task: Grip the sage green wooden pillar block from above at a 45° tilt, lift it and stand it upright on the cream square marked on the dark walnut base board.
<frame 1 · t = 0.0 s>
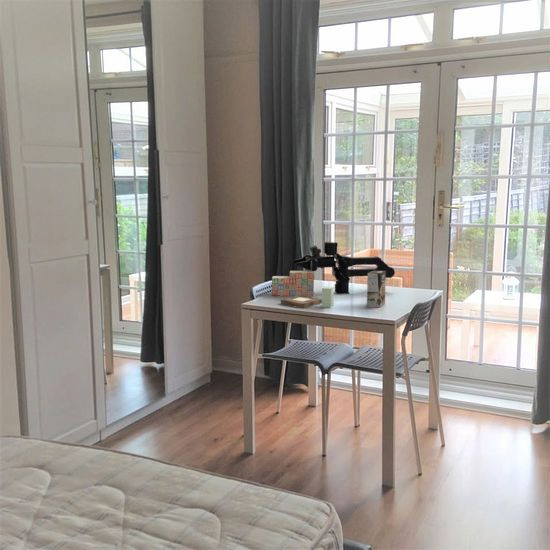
hand: (294, 262, 313), 17 cm above the table, tool horizontal, fingers open, 9 cm apart
pillar block: (327, 306, 288), on the table
coffee box: (376, 305, 289), on the table
stack of blocks: (292, 295, 315), on the table
base board: (301, 303, 294), on the table
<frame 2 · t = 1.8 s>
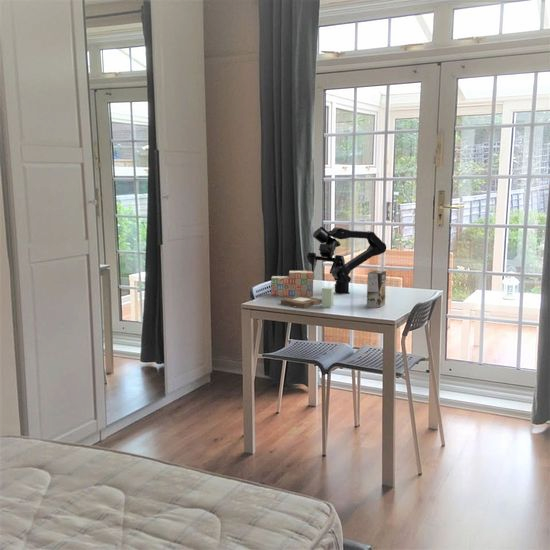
hand: (321, 272, 303), 13 cm above the table, tool tilted 45°, fingers open, 9 cm apart
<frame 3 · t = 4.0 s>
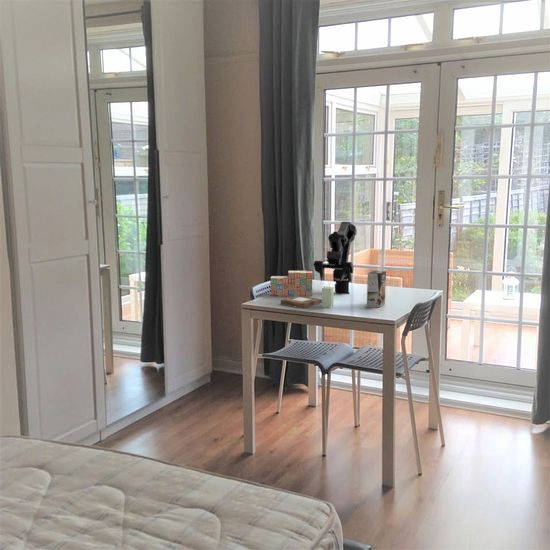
hand: (330, 280, 291), 11 cm above the table, tool tilted 45°, fingers open, 9 cm apart
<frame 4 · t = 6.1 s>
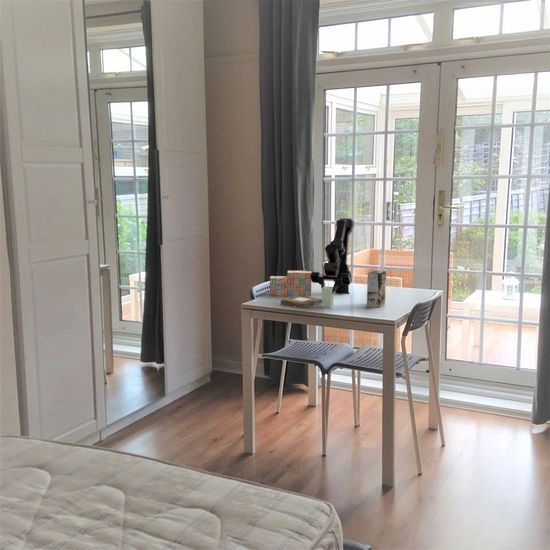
hand: (327, 292, 286), 7 cm above the table, tool tilted 45°, fingers closed on pillar block, 4 cm apart
pillar block: (327, 306, 288), on the table, touching gripper
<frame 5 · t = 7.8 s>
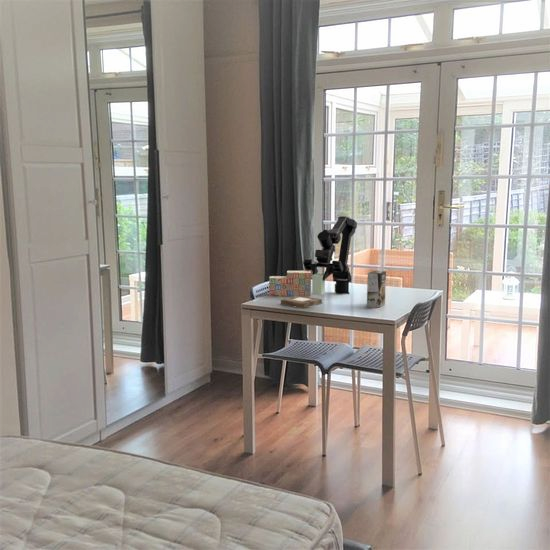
hand: (318, 279, 287), 12 cm above the table, tool tilted 45°, fingers closed on pillar block, 4 cm apart
pillar block: (318, 293, 288), point 6 cm above the table, touching gripper
when the fingers open (10 cm above the table, at t = 9.6 s): pillar block drops 1 cm, resting on base board.
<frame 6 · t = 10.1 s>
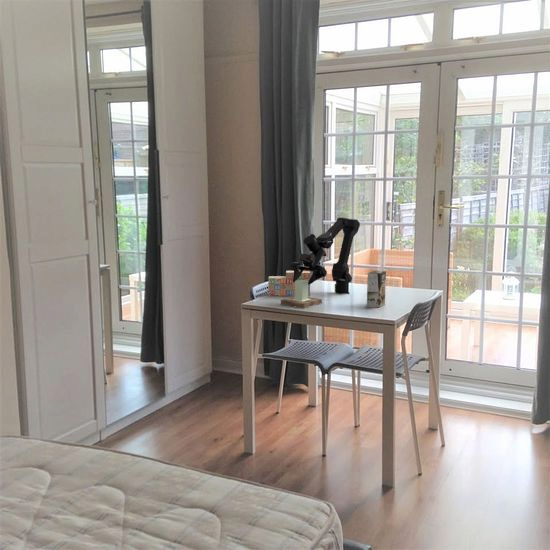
hand: (300, 283, 292), 10 cm above the table, tool tilted 45°, fingers open, 9 cm apart
pillar block: (301, 299, 294), point 2 cm above the table, touching base board
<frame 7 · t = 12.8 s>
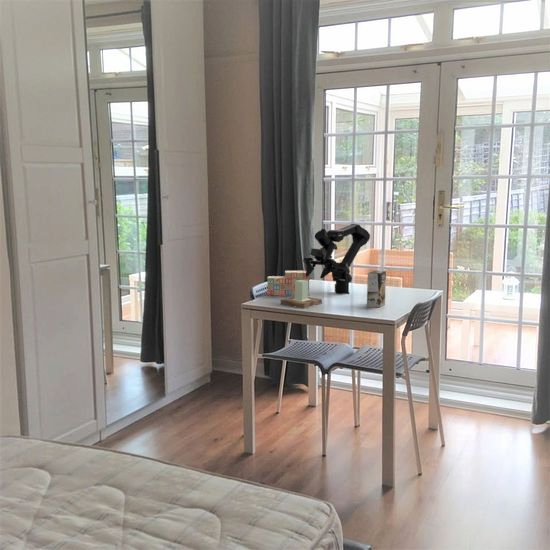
hand: (313, 277, 299), 11 cm above the table, tool tilted 40°, fingers open, 9 cm apart
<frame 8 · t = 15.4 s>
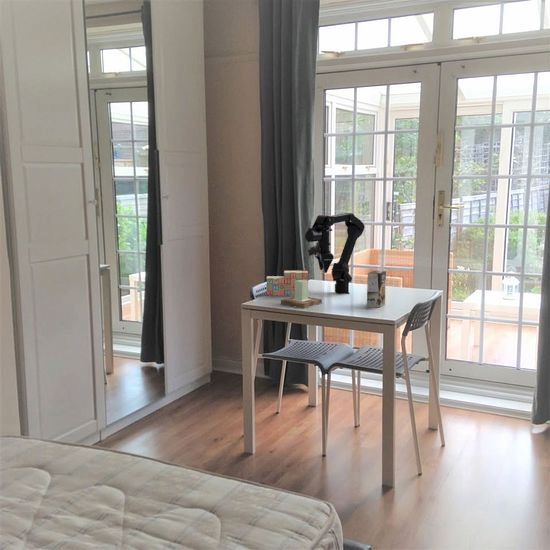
hand: (323, 271, 308), 13 cm above the table, tool pointing down, fingers open, 9 cm apart
at the end: pillar block 0.1 cm from the target spot, point 2.1 cm above the table; pillar block tilted 0°; the gripper is holding nothing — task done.
